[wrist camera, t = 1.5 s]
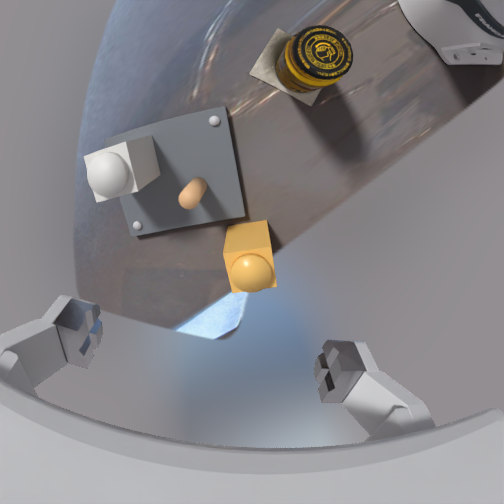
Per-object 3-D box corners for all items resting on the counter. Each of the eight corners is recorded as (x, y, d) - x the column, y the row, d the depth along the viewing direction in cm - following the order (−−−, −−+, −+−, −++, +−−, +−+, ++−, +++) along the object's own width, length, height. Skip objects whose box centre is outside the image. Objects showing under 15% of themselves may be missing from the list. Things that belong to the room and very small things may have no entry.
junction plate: (225, 106, 31) (216, 102, 22) (245, 213, 37) (244, 247, 28) (108, 138, 32) (65, 149, 23) (134, 233, 38) (104, 269, 29)
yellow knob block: (266, 220, 38) (271, 250, 29) (272, 254, 40) (277, 291, 32) (227, 226, 38) (222, 258, 30) (235, 260, 40) (232, 298, 32)
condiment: (310, 106, 31) (341, 103, 20) (249, 74, 29) (249, 53, 18) (337, 62, 28) (376, 41, 17) (277, 29, 26) (290, -9, 15)
